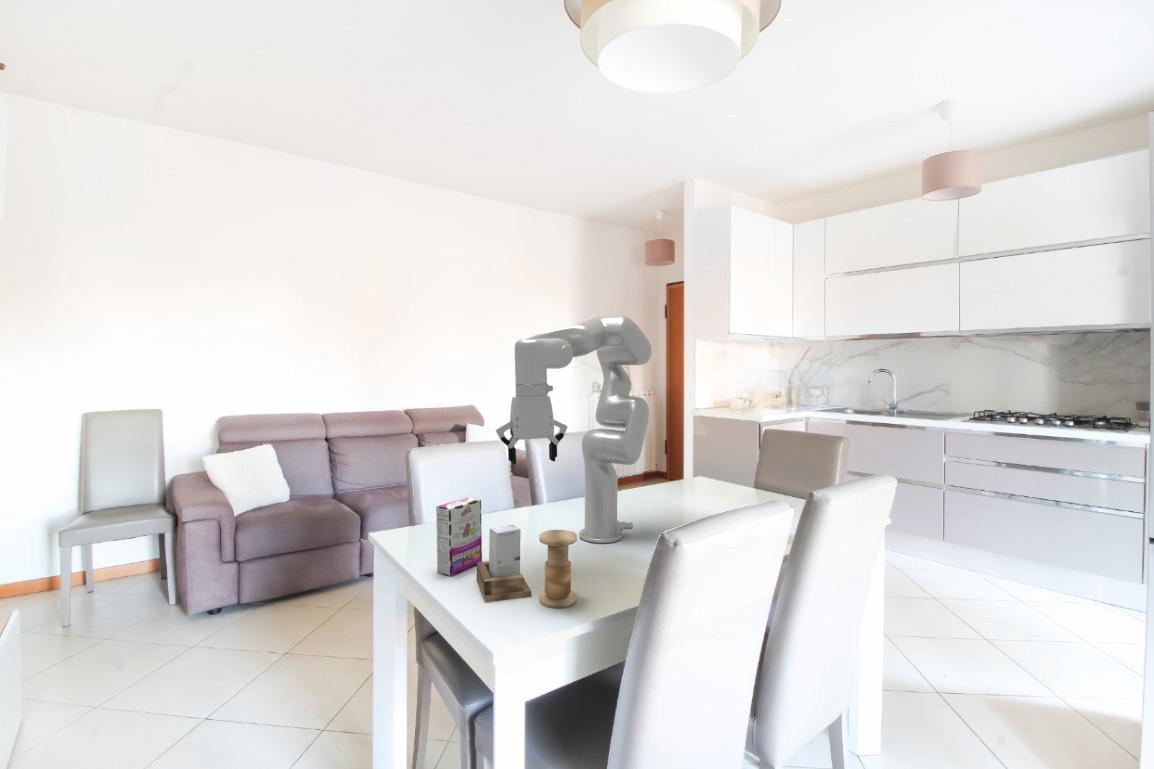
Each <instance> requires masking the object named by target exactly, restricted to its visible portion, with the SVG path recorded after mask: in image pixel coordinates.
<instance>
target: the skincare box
mask: <svg viewBox="0 0 1154 769" xmlns="http://www.w3.org/2000/svg"><path fill="white" fill-rule="evenodd" d="M521 530H522V529H521V528H519V527H517V526H516V525H515V524H514V525H513V524H512V525H511V524H509V525H501V526H500V525H499V526H496V527H495V526H494V527H490V528H489V542H488V543H489V544H488V545H489V548H488V558H489V559H488V561H489V576H490V578H497V577H506V576H515V575H520V573H521Z"/></svg>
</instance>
